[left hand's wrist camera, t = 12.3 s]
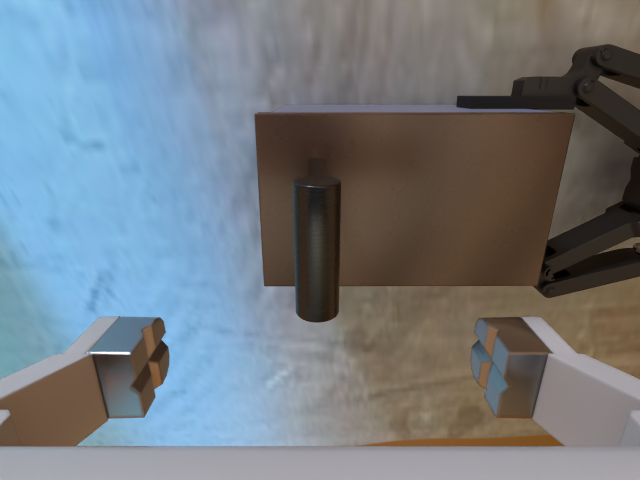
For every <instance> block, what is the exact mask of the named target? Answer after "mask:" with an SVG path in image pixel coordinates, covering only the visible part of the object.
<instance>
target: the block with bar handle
mask: <svg viewBox="0 0 640 480" xmlns="http://www.w3.org/2000/svg"><path fill="white" fill-rule="evenodd" d="M574 117H575V114H574V113H564V112H258V113H256V114H255V133H256V150H257V168H258V186H259V204H260V222H261V240H262V258H263V275H264V286H295V292H296V313H297V315H298V316H299V317H300V318H301V319H303V320H306V321H309V322H325V321H329V320H331V319H333V318H335V317H336V316H337V314H338V312H339V286H537V285H538V281H539V276H540V272H541V267H542V263H543V258H544V253H545V249H546V244H547V240H548V235H549V231H550V226H551V222H552V217H553V213H554V208H555V203H556V199H557V194H558V190H559V185H560V181H561V176H562V172H563V167H564V163H565V158H566V153H567V149H568V144H569V140H570V135H571V131H572V126H573V122H574Z"/></svg>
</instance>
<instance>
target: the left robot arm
mask: <svg viewBox="0 0 640 480" xmlns="http://www.w3.org/2000/svg"><path fill="white" fill-rule="evenodd" d="M165 333H166V331H165V326H164V321H163V320H162V319H161V318H160V317H120V316H116V317H100V318H98V319H97V320H96V321H95V322H94V323H93V324H92V325H91V326H90V327H89V328H88V329H87V330H86V331H85V332H84V333H83V334H82V335H81V336H80V337H79V338H78V339H77V340H76V341H75V342H74V343H73V344H72V345H71V346H70V347H69V348H68V349H67V350H66V351H65V352H64V353H63V354H55V355H53V356H50V357H48V358H46V359H44V360H42V361H39V362H37V363H35V364H33V365H31V366H28V367H26V368H24V369H22V370H20V371H17V372H15V373H13V374H11V375H8V376H6V377H4V378H2V379H0V480H640V379H638V378H636V377H634V376H631V375H629V374H627V373H625V372H623V371H620V370H618V369H616V368H614V367H612V366H609V365H607V364H605V363H603V362H601V361H598V360H596V359H594V358H592V357H590V356H587V355H585V354H577V353H576V352H575V351H574V350H573V349H572V348H571V347H570V346H569V345H568V344H567V343H566V342H565V341H564V340H563V339H562V338H561V337H560V336H559V335H558V334H557V333H556V332H555V331H554V330H553V329H552V328H551V327H550V326H549V325H548V324H547V323H546V322H545V321H544V320H543V319H542V318H540V317H538V316H532V317H501V318H478V320H477V322H476V325H475V331H474V333H475V334H476V336H477V337H478V339H479V340H478V341H477V342H476V343H475V344H474V345H473V346H472V350H471V369H472V372H473V375H474V378H475V380H476V382H477V384H479V385H480V386H482V387H483V388H485V389H486V391H485V399H486V400H487V402H488V404H489V406H490V408H491V410H492V411H493V413H494V415H495V417H496V418H531V419H532V421H534V422H535V423H536V424H537V425H539V426H540V427H541V428H542V429H544V430H545V431H546V432H548V433H549V434H550V435H551V436H553V437H554V438H555V439H556V440H558V441H559V442H560V443H561V444H563V445H564V446H76V445H77V444H79V443H80V442H81V441H83V440H84V439H85V438H86V437H88V436H89V435H90V434H91V433H93V432H94V431H95V430H96V429H98V428H99V427H100V426H101V425H103V424H104V423H105V422H106V421H108V419H109V418H144V417H145V415H146V413H147V412H148V410H149V408H150V406H151V404H152V402H153V400H154V399H155V391H154V389H155V388H157V387H158V386H160V385H161V384H163V382H164V380H165V378H166V376H167V372H168V367H169V349H168V346H167V345H166V344H165V343H164V342H163V341H162V340H161V339H162V337H163V336H164V334H165Z"/></svg>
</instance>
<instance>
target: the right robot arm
mask: <svg viewBox="0 0 640 480" xmlns="http://www.w3.org/2000/svg"><path fill="white" fill-rule="evenodd" d="M572 63H573V65H572V67H571V68H570V70H569V71H568V73H567V74H565V75H564V76H562V77H522V78H519V79H517V80H514V83H513V89H512V95H511V96H457V105H456V107H459V108H467V109H574V106H575V107H576V108H578V109H579V110H581V111H582V112H584V113H585V114H586V115H588V116H589V117H591V118H592V119H594V120H595V121H597V122H598V123H599V124H601V125H602V126H604V127H605V128H607V129H608V130H610V131H611V132H613V133H614V134H615V135H617V136H618V137H620V138H621V139H623V140H624V141H625V142H624V143H625V144H626V145H628V146H629V147H630V148H632V149H633V150H635V151H636V152H638V153H639V154H640V110H638V109H637V108H636V107H634V106H633V105H631V104H630V103H629V102H627V101H626V100H625V99H623V98H622V97H620V96H619V95H618V94H616V93H615V92H613V91H612V90H611V89H609V88H608V87H606V86H605V85H604V84H602V83H601V82H599V81H598V78H599V76H603V77H606V78H609V79H612V80H615V81H618V82H621V83H624V84H627V85H630V86H633V87H636V88H639V89H640V54H637V53H634V52H631V51H628V50H625V49H622V48H620V47H617V46H614V45H609V44H607V45H600V46H594V47H587V48H582V49H579V50H577V51H576V52H575V54H574V55H573V58H572ZM622 200H623V201H621V202H619V203H617V204H615V205H613V206H611V207H609V208H607V209H606V212H605V213H604V214H602V215H600V216H598V217H596V218H594V219H592V220H590V221H588V222H586V223H583V224H581V225H579V226H577V227H575V228H573V229H571V230H569V231H567V232H565V233H563V234H560V235H558V236H556V237H554V238H552V239H550V240H548V241H547V244H546V249H545V253H544V258H543V263H542V267H541V272H540V276H539V281H538V285H537V286H533V287H535V288H536V289H537V290H538V291H539V292H540V293H541V294H542V295H544V296H545V297H547V298H552V297H556V296H560V295H564V294H568V293H572V292H577V291H581V290H585V289H589V288H593V287H597V286H602V285H606V284H610V283H614V282H618V281H622V280H627V279H631V278H635V277H639V276H640V243H635V244H634V246H633V248H623V249H617V250H613V251H609V252H605V253H601V254H597V253H599V252H602V251H604V250H606V249H608V248H610V247H612V246H615V245H617V244H619V243H621V242H623V241H625V240H628V239H630V238H632V237H640V155H639V156H638V157H634V159H633V162H632V166H631V179H630V181H629V183H628V185H627V186H626V188H625V191H624V194H623V198H622ZM595 254H597V255H595Z"/></svg>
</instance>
